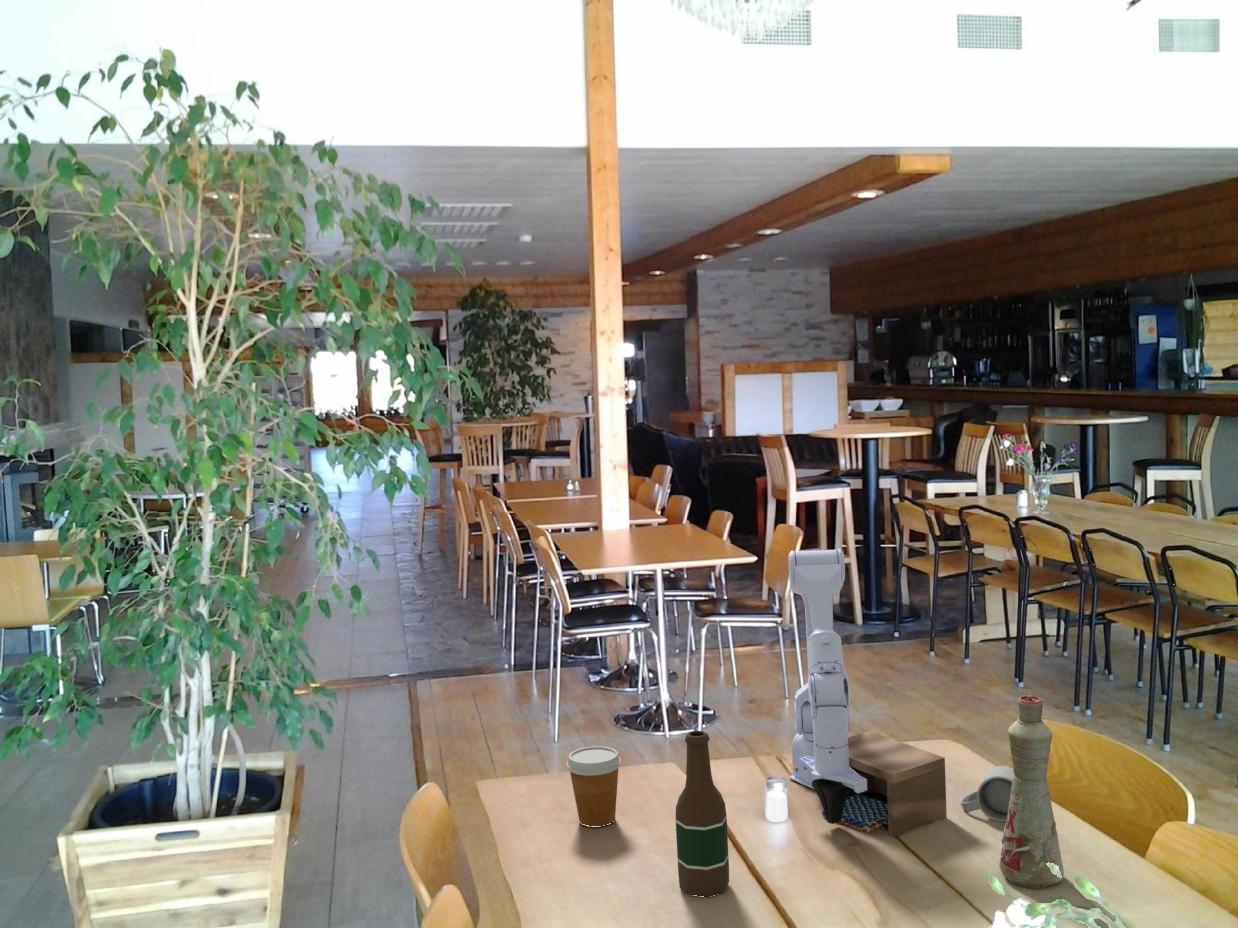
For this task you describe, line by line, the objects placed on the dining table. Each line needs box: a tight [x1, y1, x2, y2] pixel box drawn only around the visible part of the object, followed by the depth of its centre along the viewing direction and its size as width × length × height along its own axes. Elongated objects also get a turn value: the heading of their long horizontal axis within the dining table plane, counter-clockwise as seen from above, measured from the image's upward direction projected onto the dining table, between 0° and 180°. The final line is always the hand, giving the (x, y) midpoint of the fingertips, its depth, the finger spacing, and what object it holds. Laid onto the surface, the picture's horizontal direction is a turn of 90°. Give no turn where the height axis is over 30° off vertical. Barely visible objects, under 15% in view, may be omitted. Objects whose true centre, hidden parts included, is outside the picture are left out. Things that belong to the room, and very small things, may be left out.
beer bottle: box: [675, 730, 730, 898], centre depth 174 cm, size 8×8×24 cm
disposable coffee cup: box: [566, 745, 622, 826], centre depth 202 cm, size 10×10×12 cm
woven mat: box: [821, 793, 888, 833], centre depth 198 cm, size 10×11×2 cm
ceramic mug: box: [960, 765, 1014, 822], centre depth 197 cm, size 11×8×8 cm
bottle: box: [998, 694, 1065, 889], centre depth 171 cm, size 9×9×28 cm
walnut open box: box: [847, 730, 948, 837], centre depth 199 cm, size 18×12×10 cm, turn 32°
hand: (834, 821), depth 194 cm, fingers closed
